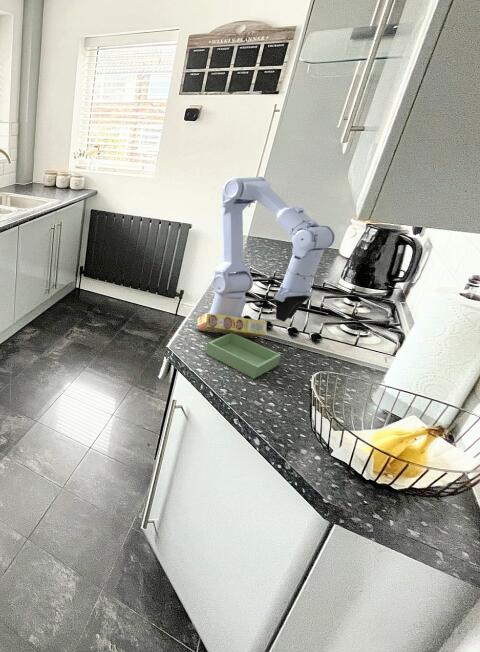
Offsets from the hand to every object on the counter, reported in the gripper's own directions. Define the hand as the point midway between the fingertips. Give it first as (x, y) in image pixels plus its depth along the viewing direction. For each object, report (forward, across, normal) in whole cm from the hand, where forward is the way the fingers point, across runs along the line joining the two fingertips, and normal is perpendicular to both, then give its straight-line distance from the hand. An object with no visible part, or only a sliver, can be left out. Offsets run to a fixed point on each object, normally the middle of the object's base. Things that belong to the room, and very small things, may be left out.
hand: (283, 318), depth 114 cm
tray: (+10, -12, +2) cm, 16 cm away
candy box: (+6, +1, +4) cm, 8 cm away
